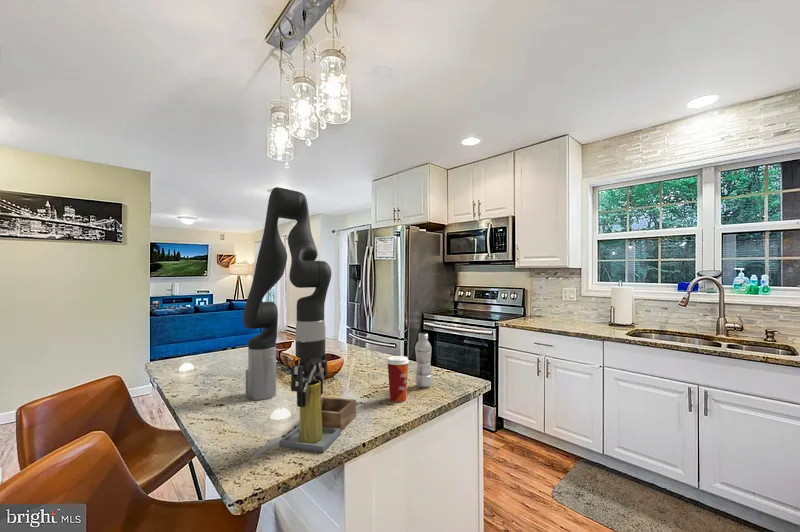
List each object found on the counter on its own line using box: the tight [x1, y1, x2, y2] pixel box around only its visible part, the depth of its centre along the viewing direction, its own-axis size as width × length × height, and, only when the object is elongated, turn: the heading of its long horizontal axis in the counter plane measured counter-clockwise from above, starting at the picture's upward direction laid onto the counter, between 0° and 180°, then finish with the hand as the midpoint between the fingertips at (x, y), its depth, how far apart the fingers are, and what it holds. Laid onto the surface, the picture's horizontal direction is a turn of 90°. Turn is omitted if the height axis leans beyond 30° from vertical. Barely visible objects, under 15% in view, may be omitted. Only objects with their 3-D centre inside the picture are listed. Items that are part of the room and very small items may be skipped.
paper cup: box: [386, 355, 410, 403], centre depth 119 cm, size 8×8×14 cm
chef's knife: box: [250, 425, 299, 461], centre depth 88 cm, size 19×1×3 cm
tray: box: [278, 425, 342, 454], centre depth 89 cm, size 12×10×2 cm
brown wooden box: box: [321, 396, 357, 433], centre depth 100 cm, size 11×11×5 cm
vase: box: [298, 378, 323, 443], centre depth 89 cm, size 6×6×14 cm
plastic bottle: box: [414, 332, 433, 388], centre depth 132 cm, size 6×7×20 cm
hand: (310, 400), depth 89 cm, fingers open, 8 cm apart
